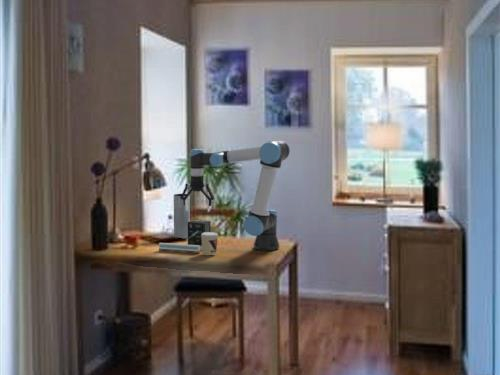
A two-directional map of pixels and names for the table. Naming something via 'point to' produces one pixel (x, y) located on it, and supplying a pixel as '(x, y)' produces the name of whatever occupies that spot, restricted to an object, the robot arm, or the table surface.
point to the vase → (181, 217)
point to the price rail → (179, 247)
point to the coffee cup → (209, 243)
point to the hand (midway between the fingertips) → (197, 211)
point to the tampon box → (197, 231)
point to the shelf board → (182, 250)
